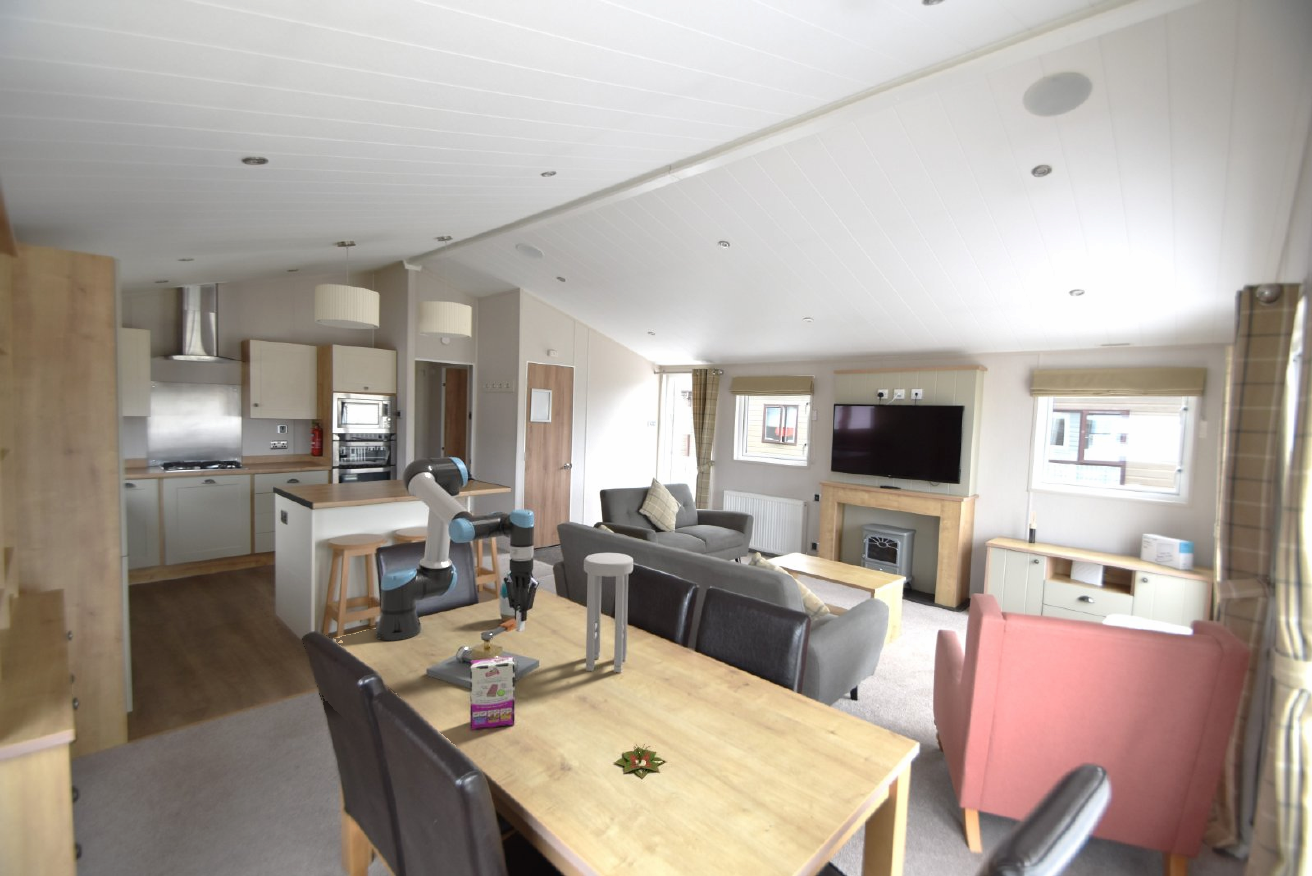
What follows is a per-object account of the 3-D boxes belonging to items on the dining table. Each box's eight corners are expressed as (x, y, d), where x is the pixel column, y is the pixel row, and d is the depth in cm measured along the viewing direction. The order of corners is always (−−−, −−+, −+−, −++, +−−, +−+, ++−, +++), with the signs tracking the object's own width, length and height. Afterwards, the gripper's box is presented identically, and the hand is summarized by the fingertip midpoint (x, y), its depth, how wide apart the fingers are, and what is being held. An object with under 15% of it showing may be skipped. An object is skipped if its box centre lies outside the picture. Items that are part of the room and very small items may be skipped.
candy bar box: (514, 716, 157) (514, 655, 157) (514, 725, 152) (515, 663, 152) (470, 721, 154) (471, 659, 154) (469, 731, 149) (470, 667, 149)
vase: (523, 627, 223) (524, 577, 223) (495, 626, 224) (496, 576, 223) (530, 617, 234) (530, 569, 233) (503, 616, 234) (504, 569, 233)
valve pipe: (454, 664, 185) (454, 636, 184) (468, 658, 190) (468, 630, 190) (506, 679, 175) (507, 649, 175) (519, 671, 181) (520, 642, 180)
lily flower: (638, 744, 146) (638, 726, 146) (676, 763, 138) (676, 744, 138) (603, 765, 137) (604, 746, 136) (642, 787, 129) (643, 767, 129)
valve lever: (478, 639, 182) (478, 633, 181) (512, 624, 196) (512, 618, 196) (487, 641, 180) (487, 636, 180) (521, 625, 194) (521, 620, 194)
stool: (633, 656, 198) (635, 553, 197) (626, 676, 183) (629, 564, 182) (588, 653, 200) (590, 551, 199) (577, 672, 184) (579, 562, 183)
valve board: (426, 675, 180) (426, 668, 180) (477, 650, 200) (477, 644, 200) (491, 694, 169) (491, 687, 169) (539, 666, 189) (539, 660, 189)
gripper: (498, 558, 189) (496, 630, 190) (530, 563, 183) (529, 637, 184) (513, 553, 196) (512, 623, 197) (545, 558, 190) (543, 630, 191)
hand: (520, 630), depth 190 cm, fingers closed
